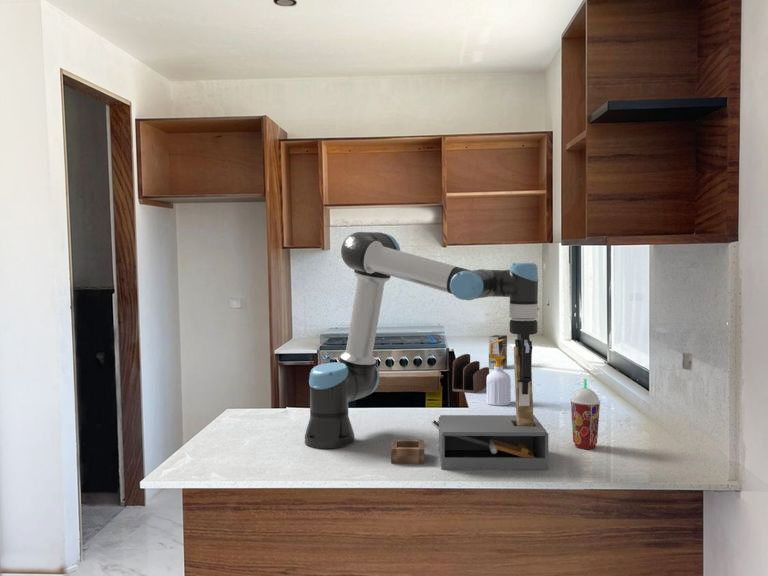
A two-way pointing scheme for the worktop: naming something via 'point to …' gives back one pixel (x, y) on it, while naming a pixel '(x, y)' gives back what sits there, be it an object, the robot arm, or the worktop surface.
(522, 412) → the light wood square bar
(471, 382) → the letter holder
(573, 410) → the smoothie
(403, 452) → the square wooden socket
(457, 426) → the box
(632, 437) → the worktop surface
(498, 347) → the coffee box
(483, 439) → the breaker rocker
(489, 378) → the soap bottle
